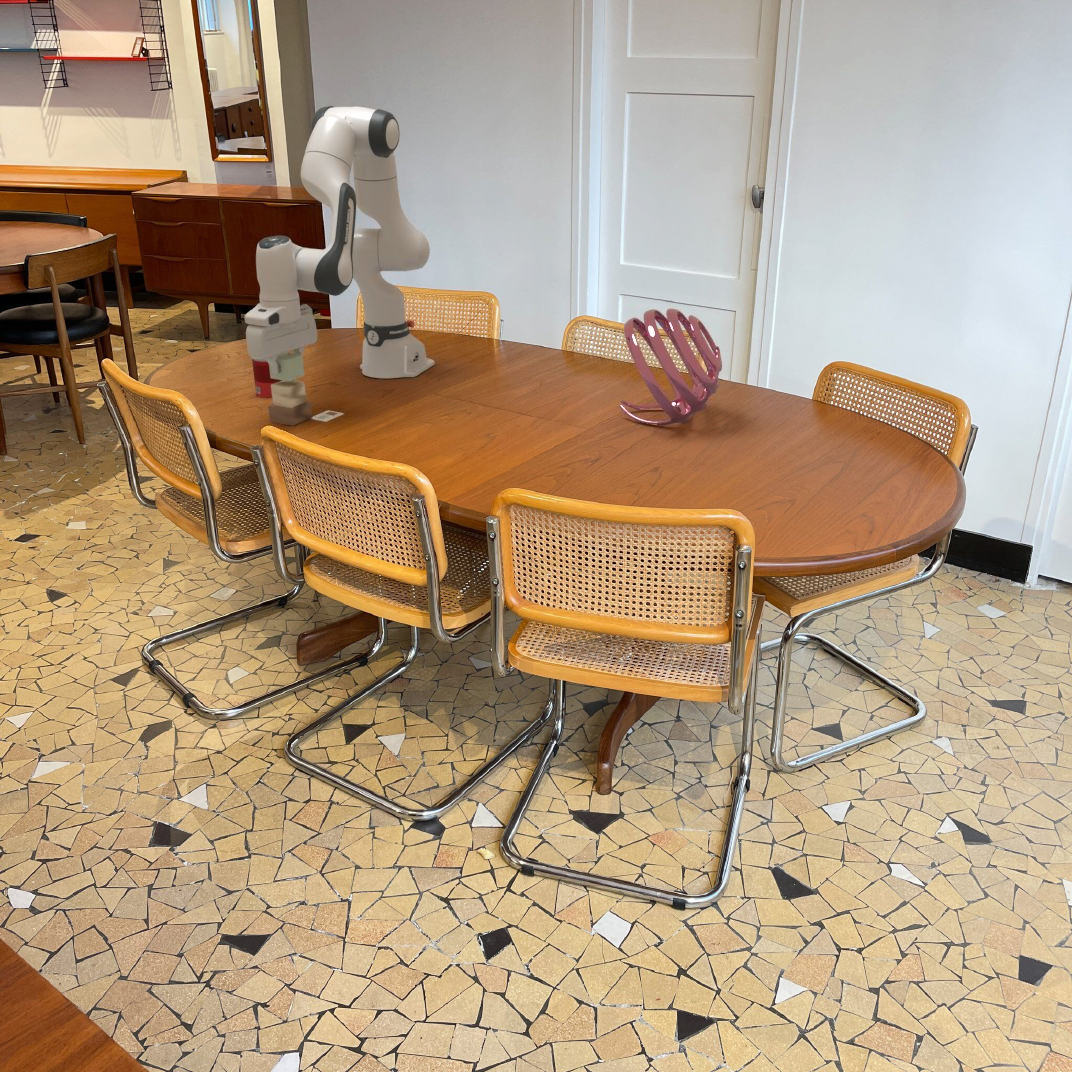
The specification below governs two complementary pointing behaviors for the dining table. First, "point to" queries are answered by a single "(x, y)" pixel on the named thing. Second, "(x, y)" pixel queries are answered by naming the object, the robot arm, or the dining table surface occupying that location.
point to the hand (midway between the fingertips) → (286, 369)
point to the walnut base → (290, 414)
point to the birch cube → (288, 393)
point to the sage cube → (289, 367)
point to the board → (326, 416)
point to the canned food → (263, 378)
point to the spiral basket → (683, 393)
